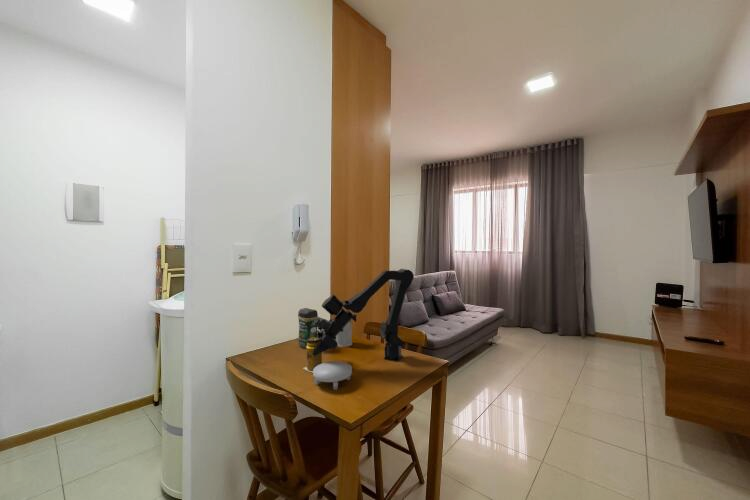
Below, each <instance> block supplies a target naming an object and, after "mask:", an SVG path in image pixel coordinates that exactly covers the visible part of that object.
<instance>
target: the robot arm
mask: <svg viewBox="0 0 750 500" xmlns="http://www.w3.org/2000/svg"><path fill="white" fill-rule="evenodd" d="M414 277H415V276H414V273H413V271H412V270H410V269H406V268H400V269H398V270H387V269H386V270H385V269H384V270H382V271H381V273H380V274H378V276H377V277H375V279H373V281H371V282H370V283H369V284H368V285H367V286H366V287H365V288H364V289H363V290H362V291H360V292H358V293H356V294H354V295H353V296H351V297H350V298H349V299H347V300H342V301H341V300H339V298H338V297H337V296H336V295H335V294H332V295H331V296H329V297H327V298H325V300H324V301H323V302H322V304H321V308H323V309H324V310H325V311H326V312H327V313H328V314H329V315H330V316H333V315H334V318H330V319H329V320H327V319H326V318H322V317H320V316H318V317H317V316H316V319H315V321H314V323H313V324H314V326H316V327H317V333H318V336H317V337H318V338H320V343H319V345H318V346H317V348H316V349H315V351H314V352H313V355H314V356H315V355H317V354H319V353H322V354H323V353H324V352H326V351H329V350H331V349H332V350H335V349H337V347H338V344H337V341H336V336H337V335H338V334H339V333H340V332H343V328H344V327H345V326H346V325H347V324H348V323H349V321H350V320H351V321H352V320H353V321H354V322H357V317H358V316H357V314H359V313H361V312H362V311H363V310H364V308H365V307H366V306H367V304H368V303H369V300H370V299H371V298H372V297H373V296H374V295H375V294H376V293H377V292H378V291H379V290H380V289H381V288H382V287H383V286H384V285H385V284H387V282H389V281H390V280H393V281H395V290H394V295H393V299H392V301H391V305H390V310H389V313H388V316H387V319H386V320H385V321H381V326H380V328H379V331H380V336H381V337H382V339H383V340H384V341H385V342H386V343H385V346H384V356H383V359H384V360H387V361H394V362H399V361H400V360H401V359H402V358H403V357H404V355H403V354H402V346H403V343H404V341H403V340H402V339H401V338H400V337H399V319H400V316H401V311H402V308H403V304H404V300H405V297H406V293H407V290H408V289H409V288H410V286H411V285H412V282H413V281H414Z"/></svg>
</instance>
